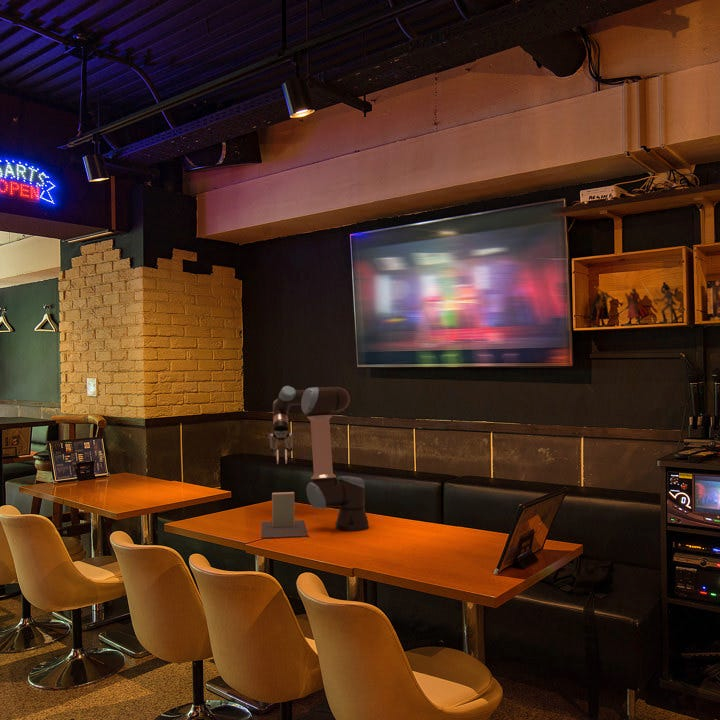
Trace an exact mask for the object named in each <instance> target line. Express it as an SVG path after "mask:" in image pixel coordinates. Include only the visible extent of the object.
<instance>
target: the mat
mask: <svg viewBox="0 0 720 720" xmlns="http://www.w3.org/2000/svg"><path fill="white" fill-rule="evenodd" d="M260 527H261V529H260V530H261V531H260V533H261V534H260V535H261V536H260V537H261V538H260V540H275V539H276V540H277V539H297V538H299V539H300V538H309V532H308V530H307V525H306V521H305V520H304V519H300V520H297V519H296V520H295V526H286V527H272V521H261V525H260Z"/></svg>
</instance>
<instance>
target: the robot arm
mask: <svg viewBox="0 0 720 720" xmlns="http://www.w3.org/2000/svg"><path fill="white" fill-rule="evenodd" d="M350 401H351V397H350V394H349V392H348V391H347V390H346V389H345V388H342V387H340V386H325V387H324V386H315V387H307V388H306V389H295V388H294V387H292V386H290V385H285V386H283V387H282V388H281V390H280V392H279V394H278V397H277V398H276V399H275V400H274V401H273V403H272V415H273V416H272V421H273V428H272V429H273V431H272V433H267V439H268V440H269V448H270V452H271V453H274V454H273V455H274V457H273V458H276V464H277V465H279V449H278V447H279V443H280V441H283V444H284V448H285V449H284V456H285V457H284V460H285V461H284V462H285V463H284V464H288V458H289V457H290V452H293V447H294V439H295V433H294V432H290V430H289V410H290V408H291V406H301V407H300V408H301V411H302V413H304V414H306V419H308V420H309V421H310V434H311V435H310V436H311V450H312V465H313V475H312V476H311V477H310V482H309V483H307V485H306V491H305V492H306V495H307V496H306V497H307V499H308V503H309V504H310V505H311V507H313V508H315V509H326V508H333V507H339V509H338V513H337V518H336V521H335V529H337V530H340V531H346V532H347V531H348V532H355V531H356V532H357V531H364V530H367V529H369V525H370V524H369V520H368V519H369V518H368V517H367V514H366V510H365V508H366V507H365V488H366V487H365V480H364V479H363V478H361V477H358V476H350V475H340V476H338V479H337V476H336V474H335V473H334V472H333V471H334V470H333V457H332V456H333V455H332V441H331V440H332V439H331V426H330V425H331V423H330V419H331V418H332V417H333V413H338V412H342V411H345V409H346V408H348V406H349V404H350ZM273 438H275V443H274V445H273ZM287 438H290V441H289V443H290V445H289V444H288V439H287Z"/></svg>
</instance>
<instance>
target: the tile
mask: <svg viewBox="0 0 720 720" xmlns="http://www.w3.org/2000/svg"><path fill="white" fill-rule="evenodd" d="M271 504H272V505H271V506H272V507H271V510H272V511H271V513H272V514H271V515H272V517H271V518H272V527H286V526H295V492H294V491H290V492H289V491H287V492H286V491H285V492H272V493H271Z"/></svg>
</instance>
